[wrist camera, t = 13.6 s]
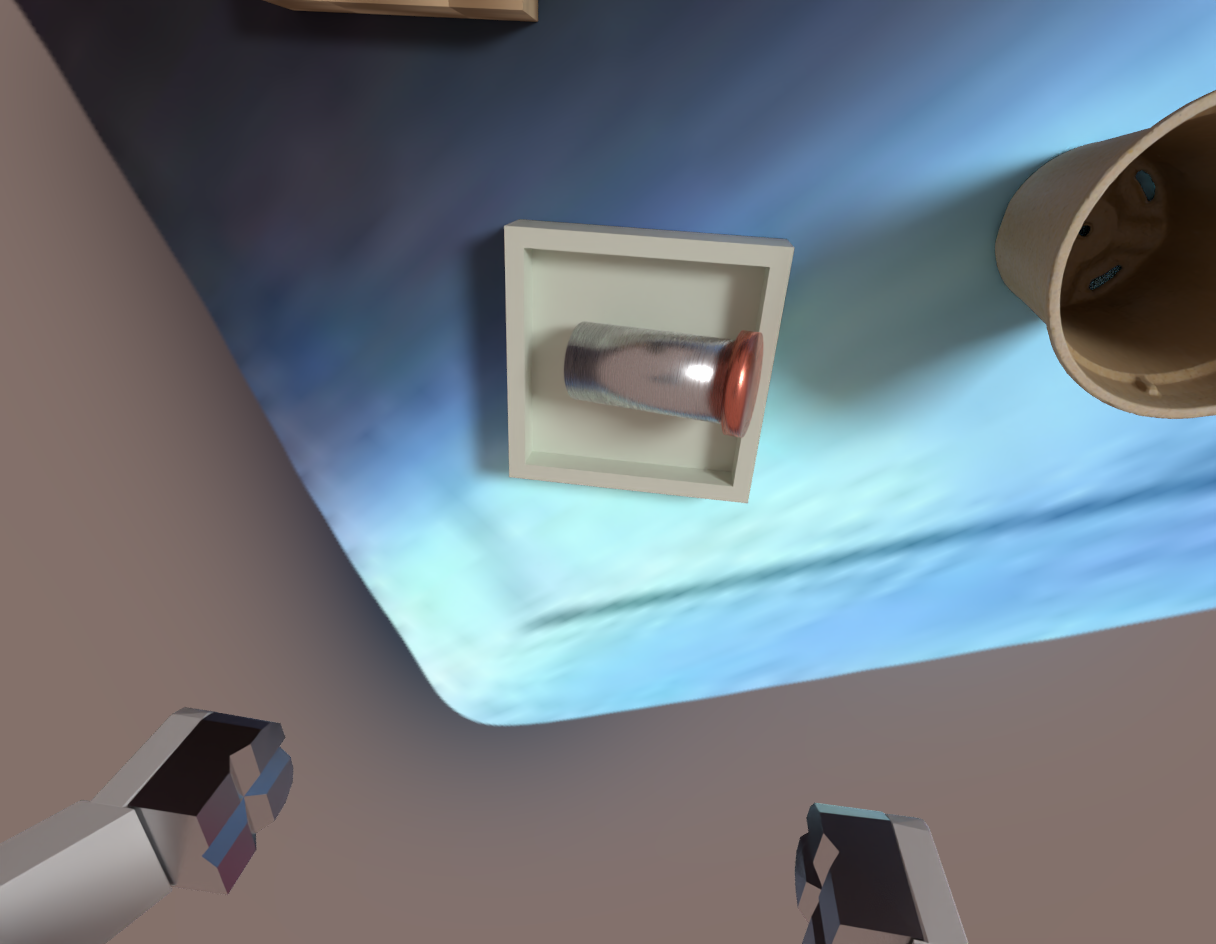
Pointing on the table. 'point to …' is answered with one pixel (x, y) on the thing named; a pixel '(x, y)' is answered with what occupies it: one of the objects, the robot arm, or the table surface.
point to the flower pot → (1126, 263)
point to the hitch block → (424, 8)
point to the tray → (643, 298)
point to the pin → (666, 372)
